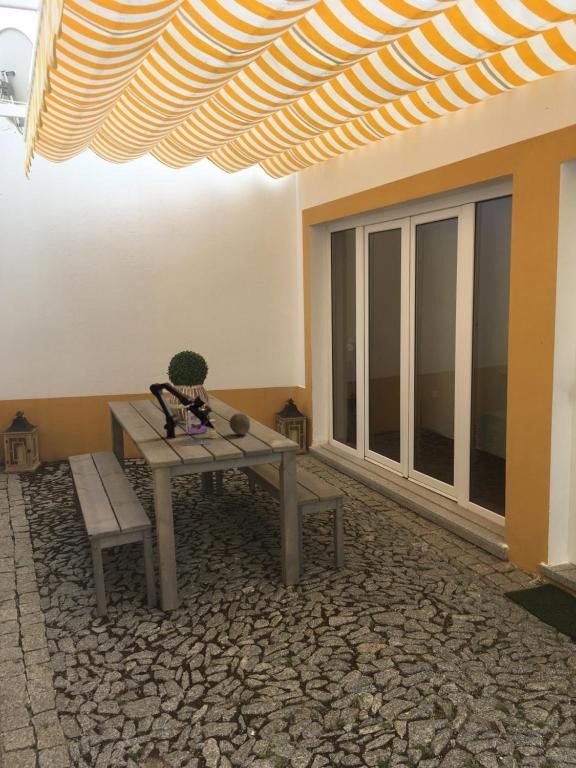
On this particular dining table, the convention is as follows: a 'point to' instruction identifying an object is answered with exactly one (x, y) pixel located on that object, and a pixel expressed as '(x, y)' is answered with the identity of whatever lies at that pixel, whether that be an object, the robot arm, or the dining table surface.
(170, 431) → the robot arm
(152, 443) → the dining table surface
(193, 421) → the candy box
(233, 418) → the cantaloupe
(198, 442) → the rubber mat
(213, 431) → the birch block
